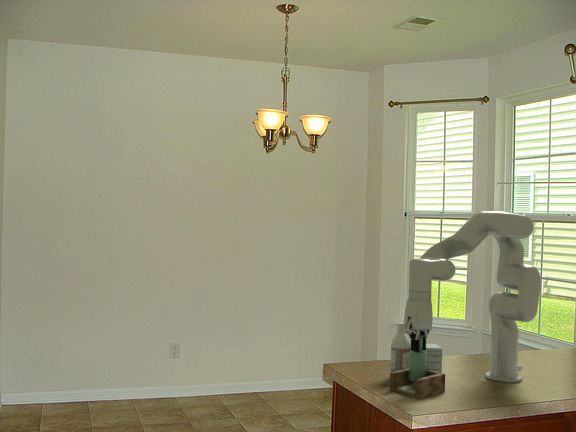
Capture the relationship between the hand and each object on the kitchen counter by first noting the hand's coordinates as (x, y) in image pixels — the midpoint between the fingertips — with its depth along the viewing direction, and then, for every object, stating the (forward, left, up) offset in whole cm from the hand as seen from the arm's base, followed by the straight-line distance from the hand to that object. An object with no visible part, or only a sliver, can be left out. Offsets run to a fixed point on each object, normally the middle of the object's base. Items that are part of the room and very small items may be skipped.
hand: (418, 350), depth 204 cm
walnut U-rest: (0, 0, -14) cm, 14 cm away
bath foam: (-8, -14, -14) cm, 21 cm away
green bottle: (0, 0, -10) cm, 10 cm away
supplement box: (-14, -6, -14) cm, 21 cm away
